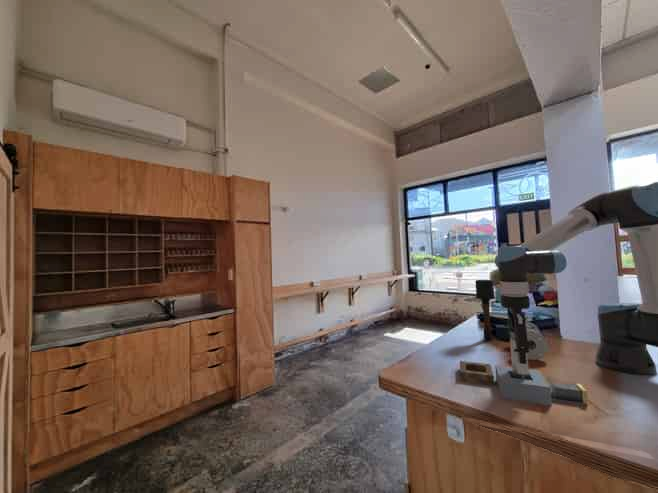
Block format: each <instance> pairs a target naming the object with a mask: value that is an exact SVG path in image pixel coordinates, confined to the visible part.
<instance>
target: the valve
mask: <svg viewBox="0 0 658 493" xmlns="http://www.w3.org/2000/svg"><path fill="white" fill-rule="evenodd" d="M522 313H523V314H524V316H525V318H526V320H525V321H526V332H527V340H528V349H529V353H527V356H528V360H530V361H531V360H534V361H535V360H536V361H538V360H541V359H544V358H545V357H546V356H547V355H548V354H549V351H550V344H549V342H548V340H547V338H546V337H545V336H544V335H543V334H542V333H541V331H540V329H539V327H537V325H536V324H534V323H532V322H529V319H528V315H527V313H526V312H525V311H522ZM540 353H542V354H540Z"/></svg>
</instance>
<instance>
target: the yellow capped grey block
mask: <svg viewBox="0 0 658 493" xmlns="http://www.w3.org/2000/svg"><path fill="white" fill-rule="evenodd" d="M551 391H552V393H551V395H552V396H553V397H554V399H561V400H568V401H575V402H582V403H583V404H584V405H587V406H588V390H586V389H585V388H584V386H583V385H582V384H581V383H575V385H573V384H572V385H571V384H566V383H565V384H564V383H555V382H551Z"/></svg>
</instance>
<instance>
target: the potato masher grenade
mask: <svg viewBox="0 0 658 493" xmlns="http://www.w3.org/2000/svg"><path fill="white" fill-rule="evenodd" d="M494 288H495V287H494V281H493V279H477V280H476V279H475V294H476V296H475V298H476V299H477V300H478V299H479V300H481V306H482V312H483V314H482V315H483V326H484V329H483V338H484V340H485V341H487V340H488V342H489V341H490V342H491V341H492V340H493V335H492V334H493V333H492V329H491V319H490V318H491V315H490V310H491V308H490V300H495V299H496V297H495V290H494Z"/></svg>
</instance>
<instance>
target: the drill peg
mask: <svg viewBox="0 0 658 493" xmlns="http://www.w3.org/2000/svg"><path fill="white" fill-rule="evenodd" d="M509 344H510V345H509V346H511V347H510V356H511V357H510V360H512V361H511V367H512V374H513V378H517V379H525V380H528V375H526V374H518V373H517V361H516V352H514V349H517V348H516V342H515V335H514V331H513V332H511V338H509ZM521 348H524V347H521Z"/></svg>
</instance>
